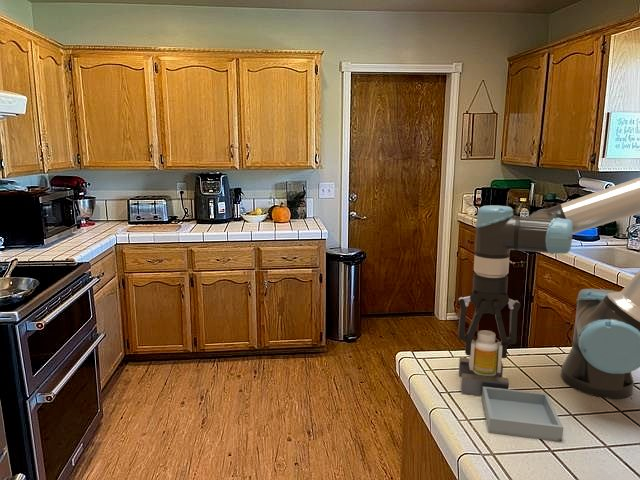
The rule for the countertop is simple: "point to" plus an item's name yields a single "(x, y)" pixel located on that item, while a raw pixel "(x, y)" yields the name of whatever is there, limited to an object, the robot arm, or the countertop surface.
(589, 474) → the countertop surface
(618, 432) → the countertop surface
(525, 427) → the grey tray
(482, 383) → the steel jaws
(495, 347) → the supplement bottle
